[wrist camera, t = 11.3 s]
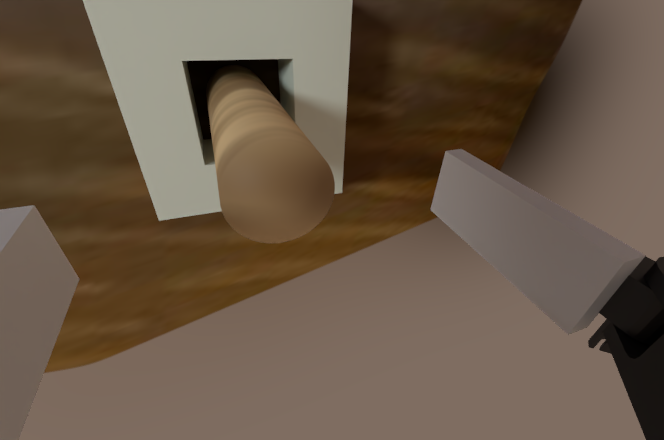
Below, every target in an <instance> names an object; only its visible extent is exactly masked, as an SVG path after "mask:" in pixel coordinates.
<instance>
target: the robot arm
mask: <svg viewBox="0 0 664 440" xmlns="http://www.w3.org/2000/svg"><path fill="white" fill-rule="evenodd" d="M430 210H431V211H432V212H433V213H434V214H435V215H437V216H438V217H439V218H440V219H441V220H442V221H443V222H444V223H445V224H447V225H448V226H449V227H450V228H451V229H452V230H453V231H454V232H455V233H456V234H458V235H459V236H460V237H461V238H462V239H463V240H464V241H465V242H466V243H467V244H469V245H470V246H471V247H472V248H473V249H474V250H475V251H477V253H479V254H480V255H481V256H482V257H483V258H484V259H485V260H486V261H488V263H490V264H491V265H492V266H493V267H494V268H495V269H496V270H497V271H498V272H500V273H501V274H502V275H503V276H504V277H505V278H506V279H507V280H508V281H509V282H511V283H512V284H513V285H514V286H515V287H516V288H517V289H518V290H519V291H521V292H522V293H523V294H524V295H525V296H526V297H527V298H528V299H529V300H531V301H532V302H533V303H534V304H535V305H536V306H537V307H538V308H539V309H541V310H542V311H543V312H544V313H545V314H546V315H547V316H548V317H549V318H550V319H552V320H553V321H554V322H555V323H556V324H557V325H558V326H559V327H560V328H561V329H562V330H564V331H565V332H566V333H567V334H568V335H569V334H572V333H574V332H577V331H579V330H582V329H584V328H587V327H588V326H589V324H590V323H591V322H592V321H593V320H594V318H595V317H596V316H597V315H598V313H600V314H602V315H603V316H604V317H605V318H607V319H606V321H605V322H604V323H603V324H602V325H601V326H600V328H599V329H598V330H597V331H596V332H595V334H594V335H593V336H592V337H591V338H590V340H589V341H588V342H589V347H590V348H594V347H595V346H596V345H597V343H598V342H599V341H600V340H601V339H606V341H605V342H604V343H603V344H602V345H601V347H600V350H601V351H604V352H608V353H611V354H612V356H613V358H614V361H615V363H616V365H617V368H618V371H619V373H620V376H621V378H622V380H623V383H624V386H625V388H626V391H627V393H628V396H629V398H630V400H631V403H632V406H633V408H634V411H635V413H636V416H637V418H638V420H639V423H640V425H641V428H642V430H643V433H644V436H645V438H646V440H664V257H660V258H658V260H657V261H656V262H655V261H653V260H651V259H649V258H647V257H646V256H645V255H644V254H642V253H641V252H639V251H637V250H635V249H634V248H632V247H630V246H628V245H627V244H625V243H623V242H621V241H620V240H618V239H616V238H614V237H613V236H611V235H609V234H608V233H606V232H604V231H602V230H601V229H599V228H597V227H596V226H594V225H592V224H590V223H589V222H587V221H585V220H583V219H582V218H580V217H578V216H577V215H575V214H573V213H571V212H570V211H568V210H566V209H564V208H563V207H561V206H559V205H557V204H556V203H554V202H552V201H551V200H549V199H547V198H545V197H544V196H542V195H540V194H539V193H537V192H535V191H533V190H532V189H530V188H528V187H526V186H525V185H523V184H521V183H520V182H518V181H516V180H514V179H513V178H511V177H509V176H507V175H506V174H504V173H502V172H501V171H499V170H497V169H495V168H494V167H492V166H490V165H488V164H487V163H485V162H483V161H482V160H480V159H478V158H476V157H475V156H473V155H471V154H469V153H468V152H466V151H464V150H463V149H457V150H449V151H445V155H444V159H443V163H442V167H441V171H440V174H439V178H438V182H437V186H436V190H435V194H434V198H433V202H432V206H431V209H430ZM78 281H79V277H78V276H77V274H76V273H75V271H74V269H73V268H72V266H71V264H70V263H69V261H68V259H67V258H66V256H65V255H64V253H63V251H62V250H61V248H60V246H59V245H58V243H57V242H56V240H55V238H54V237H53V235H52V233H51V232H50V230H49V228H48V227H47V225H46V224H45V222H44V220H43V219H42V217H41V215H40V214H39V212H38V210H37V209H36V207H35V206H34V205H33V206H25V207H18V208H10V209H2V210H0V440H19V437H20V434H21V432H22V429H23V426H24V424H25V421H26V418H27V416H28V413H29V411H30V408H31V405H32V403H33V400H34V397H35V395H36V392H37V389H38V387H39V384H40V382H41V379H42V376H43V374H44V371H45V368H46V366H47V363H48V360H49V358H50V355H51V352H52V350H53V347H54V345H55V342H56V339H57V337H58V334H59V331H60V329H61V326H62V323H63V321H64V318H65V315H66V313H67V310H68V308H69V305H70V302H71V300H72V297H73V294H74V292H75V289H76V286H77V284H78Z"/></svg>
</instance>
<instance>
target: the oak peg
mask: <svg viewBox="0 0 664 440" xmlns="http://www.w3.org/2000/svg"><path fill="white" fill-rule="evenodd" d="M206 97H207V105H208V113H209V120H210V128H211V136H212V144H213V152H214V160H215V168H216V175H217V183H218V191H219V199H220V206H221V210H222V213H223V215H224V217H225V219H226V221H227V222H228V224H229V225H230V226H231V227H232V228H233V229H234V230H235V231H236V232H238V233H239V234H241V235H242V236H244V237H246V238H248V239H250V240H254V241H257V242H262V243H281V242H286V241H290V240H293V239H296V238H298V237H301V236H303V235H304V234H306V233H308V232H309V231H311V230H312V229H313V228H315V227H316V226H317V225H318V224H319V223H320V222H321V221H322V219H323V218H324V217H325V215H326V214H327V213H328V211H329V209H330V207H331V204H332V202H333V198H334V192H335V182H334V176H333V173H332V170H331V168H330V166H329V164H328V163H327V162H326V160H325V159H324V158H323V156H322V155H321V154H320V153H319V151H318V150H317V149H316V148H315V147H314V145H313V144H312V143H311V142H310V140H309V139H308V138H307V137H306V135H305V134H304V133H303V132H302V131H301V129H300V128H299V127H298V126H297V124H296V123H295V122H294V121H293V119H292V118H291V117H290V116H289V114H288V113H287V112H286V111H285V110H284V108H283V107H282V106H281V105H280V103H279V102H278V101H277V100H276V98H275V97H274V96H273V95H272V94H271V92H270V91H269V90H268V89H267V87H266V86H265V85H264V84H263V82H262V81H261V80H260V79H259V78H258V76H257V75H256V74H255V73H254V72H252V71H251V70H249V69H248V68H246V67H243V66H240V65H227V66H223V67H221V68H219V69H217V70H216V71H215V72H214V73H213V74H212V75H211V77H210V78H209V80H208V83H207V87H206Z"/></svg>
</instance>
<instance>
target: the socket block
mask: <svg viewBox="0 0 664 440" xmlns="http://www.w3.org/2000/svg"><path fill="white" fill-rule="evenodd" d="M352 1H353V0H83V2H84V5H85V8H86V11H87V14H88V17H89V20H90V23H91V26H92V28H93V31H94V34H95V37H96V40H97V43H98V46H99V49H100V52H101V54H102V57H103V60H104V63H105V66H106V69H107V72H108V75H109V78H110V80H111V83H112V86H113V89H114V92H115V95H116V98H117V101H118V104H119V106H120V109H121V112H122V115H123V118H124V121H125V124H126V127H127V129H128V132H129V135H130V138H131V141H132V144H133V147H134V150H135V153H136V155H137V158H138V161H139V164H140V167H141V170H142V173H143V176H144V179H145V181H146V184H147V187H148V190H149V193H150V196H151V199H152V202H153V205H154V207H155V210H156V213H157V216H158V219H159V221H160V220H167V219H173V218H180V217H186V216H193V215H199V214H206V213H213V212H219V211H222V210H221V206H220V199H219V191H218V183H217V175H216V168H215V160H214V152H213V144H212V139H207V140H203V136H202V131H201V126H200V121H199V117H198V112H197V107H196V102H195V98H194V93H193V88H192V83H191V79H190V74H189V69H188V64H187V61H202V60H254V59H278V73H279V89H280V105H281V106H282V107H283V108H284V110H285V111H286V112H287V113H288V114H289V116H290V117H291V118H292V119H293V121H294V122H295V123H296V124H297V126H298V127H299V128H300V129H301V131H302V132H303V133H304V134H305V135H306V137H307V138H308V139H309V140H310V142H311V143H312V144H313V145H314V147H315V148H316V149H317V150H318V151H319V153H320V154H321V155H322V156H323V158H324V159H325V160H326V162H327V163H328V164H329V166H330V168H331V170H332V173H333V176H334V182H335V192H334V194H337V193H342V186H343V167H344V149H345V130H346V112H347V93H348V75H349V56H350V38H351V19H352Z"/></svg>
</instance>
